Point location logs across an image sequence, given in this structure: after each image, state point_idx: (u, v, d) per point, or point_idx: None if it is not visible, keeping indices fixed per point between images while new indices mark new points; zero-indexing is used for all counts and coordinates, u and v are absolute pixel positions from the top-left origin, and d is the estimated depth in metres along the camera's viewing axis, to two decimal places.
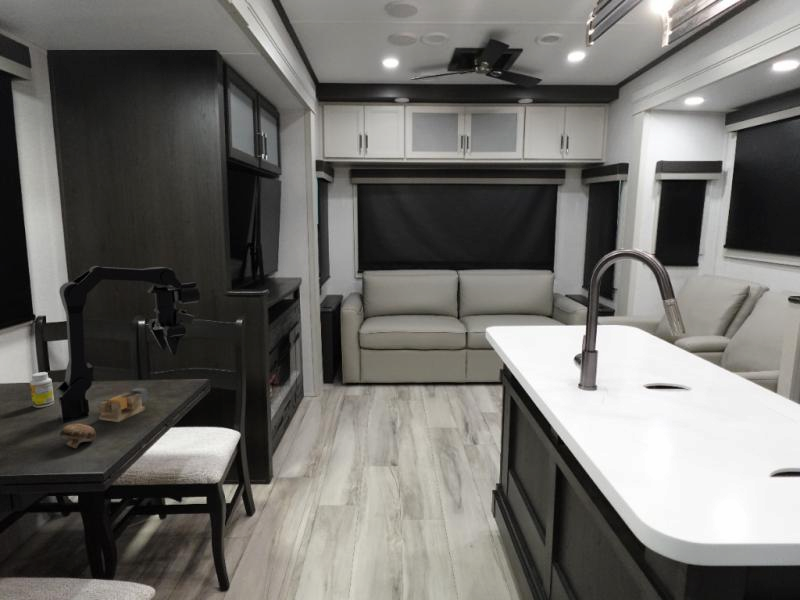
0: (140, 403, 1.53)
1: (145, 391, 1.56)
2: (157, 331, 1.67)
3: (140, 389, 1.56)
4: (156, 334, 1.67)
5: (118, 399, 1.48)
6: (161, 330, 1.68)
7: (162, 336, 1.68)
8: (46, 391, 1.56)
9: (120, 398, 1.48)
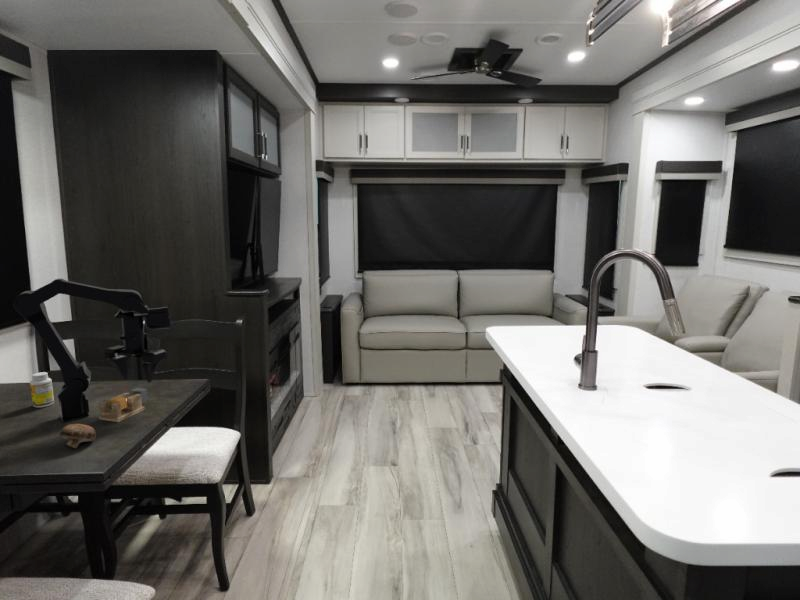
0: (140, 403, 1.53)
1: (145, 391, 1.56)
2: (118, 360, 1.54)
3: (140, 389, 1.56)
4: (118, 363, 1.54)
5: (118, 399, 1.48)
6: (122, 359, 1.56)
7: (123, 365, 1.56)
8: (46, 391, 1.56)
9: (120, 398, 1.48)
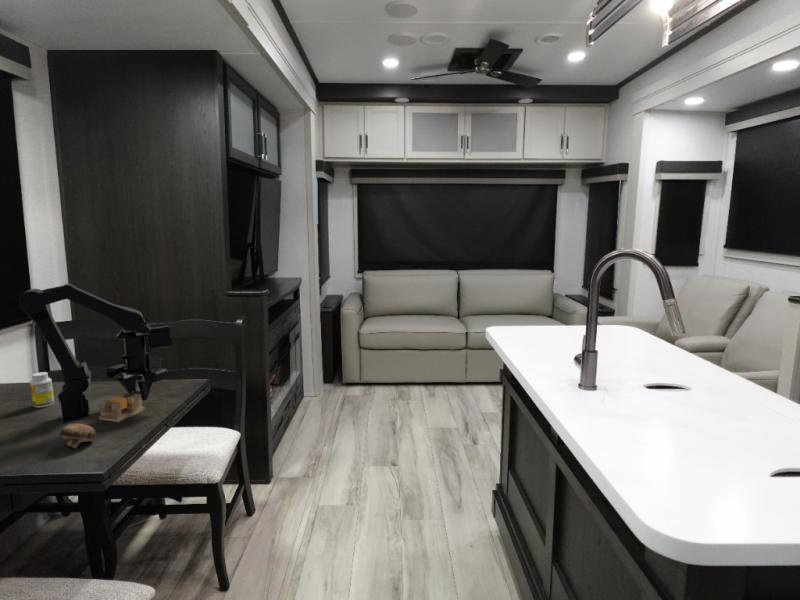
0: (140, 403, 1.53)
1: None
2: (127, 380, 1.55)
3: None
4: (126, 383, 1.54)
5: (118, 399, 1.48)
6: (130, 378, 1.56)
7: (131, 384, 1.56)
8: (46, 391, 1.56)
9: (120, 398, 1.48)
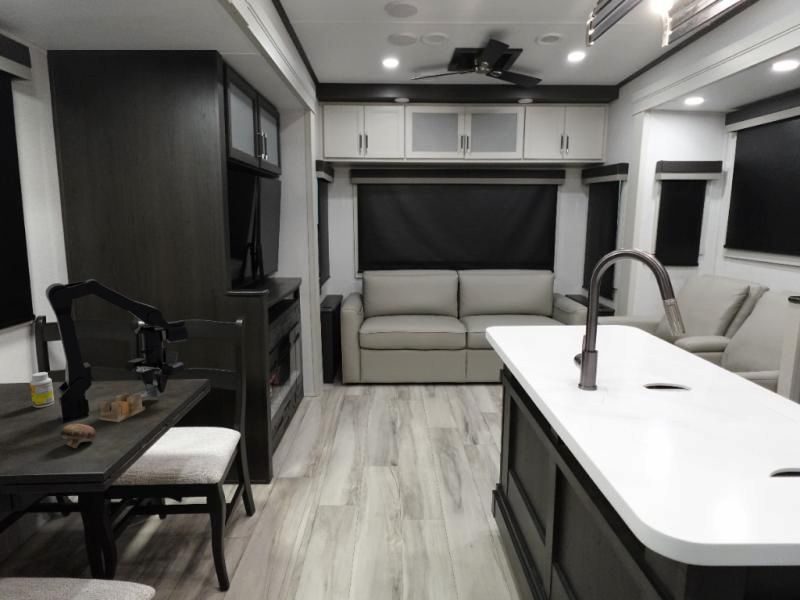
0: (140, 403, 1.53)
1: None
2: (145, 373, 1.61)
3: (155, 383, 1.62)
4: (144, 376, 1.61)
5: (120, 403, 1.48)
6: (147, 371, 1.63)
7: (149, 378, 1.63)
8: (46, 391, 1.56)
9: (122, 402, 1.49)
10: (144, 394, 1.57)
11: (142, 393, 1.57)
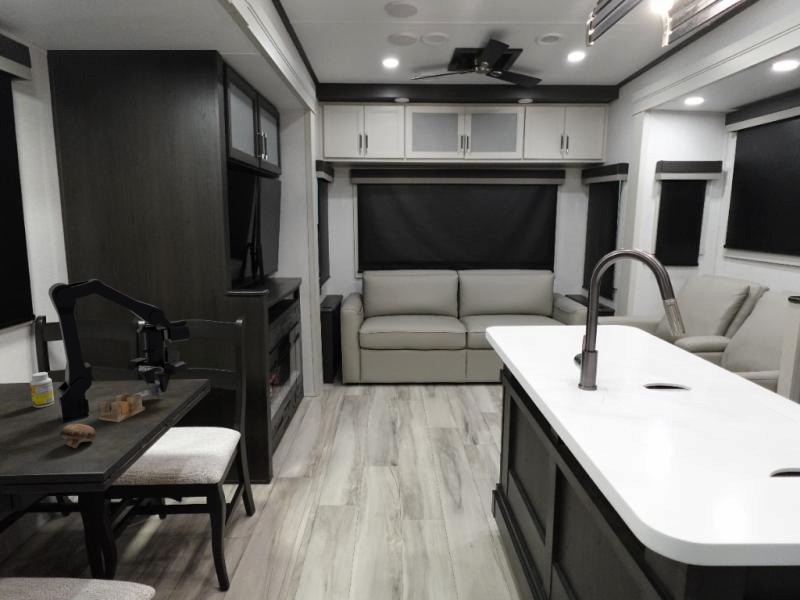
0: (140, 403, 1.53)
1: None
2: (147, 372, 1.62)
3: (157, 382, 1.63)
4: (146, 375, 1.62)
5: (120, 403, 1.48)
6: (150, 371, 1.63)
7: (151, 377, 1.64)
8: (46, 391, 1.56)
9: (122, 402, 1.49)
10: (146, 393, 1.58)
11: (144, 392, 1.57)
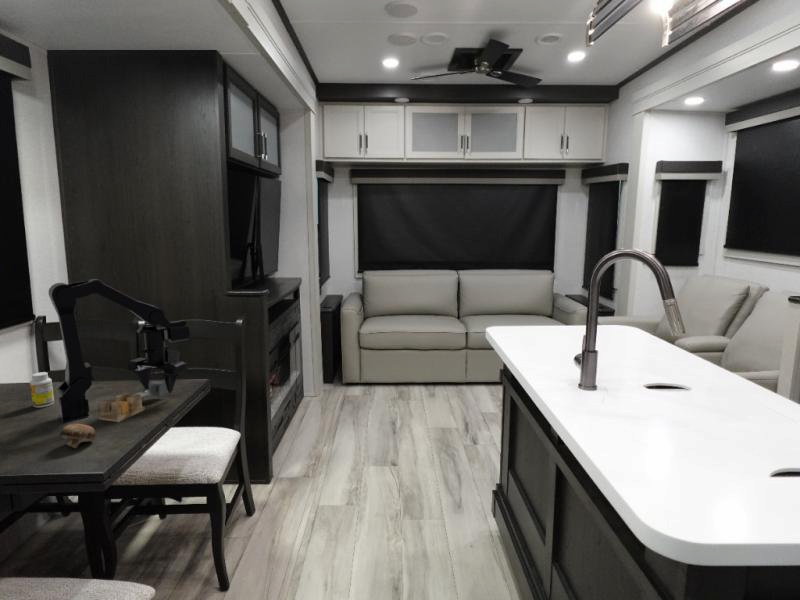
0: (140, 403, 1.53)
1: (162, 384, 1.63)
2: (141, 372, 1.63)
3: (157, 382, 1.63)
4: (140, 375, 1.63)
5: (120, 403, 1.48)
6: (144, 370, 1.64)
7: (145, 376, 1.64)
8: (46, 391, 1.56)
9: (122, 402, 1.49)
10: (146, 393, 1.58)
11: (144, 392, 1.57)
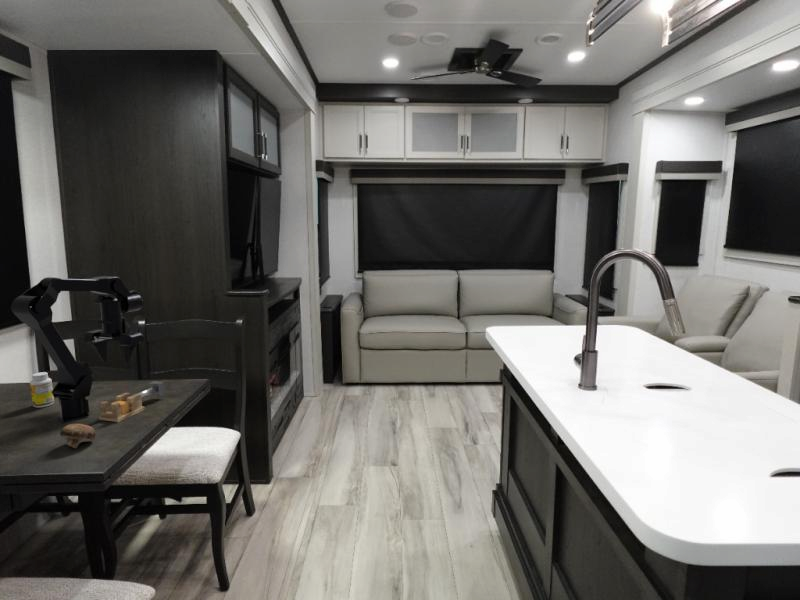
0: (140, 403, 1.53)
1: (162, 384, 1.63)
2: (98, 343, 1.61)
3: (157, 382, 1.63)
4: (97, 346, 1.61)
5: (120, 403, 1.48)
6: (101, 342, 1.62)
7: (102, 348, 1.63)
8: (46, 391, 1.56)
9: (122, 402, 1.49)
10: (146, 393, 1.58)
11: (144, 392, 1.57)
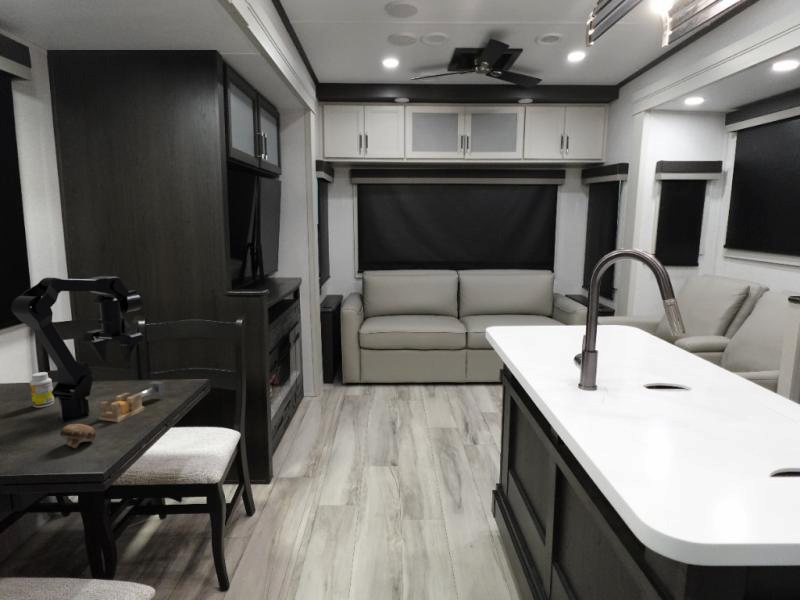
0: (140, 403, 1.53)
1: (162, 384, 1.63)
2: (97, 343, 1.61)
3: (157, 382, 1.63)
4: (97, 346, 1.61)
5: (120, 403, 1.48)
6: (100, 342, 1.62)
7: (102, 348, 1.63)
8: (46, 391, 1.56)
9: (122, 402, 1.49)
10: (146, 393, 1.58)
11: (144, 392, 1.57)
